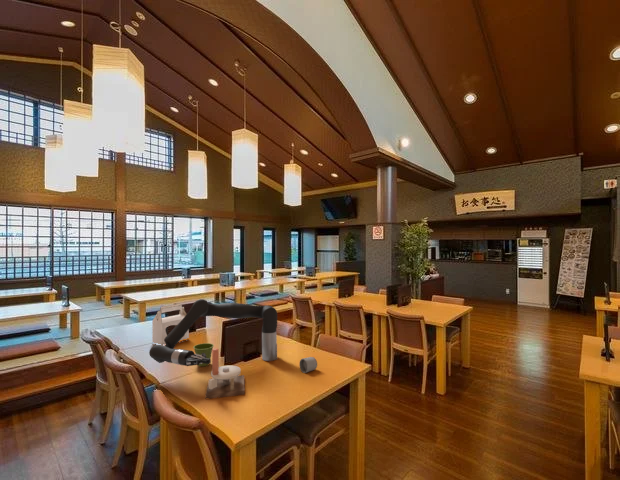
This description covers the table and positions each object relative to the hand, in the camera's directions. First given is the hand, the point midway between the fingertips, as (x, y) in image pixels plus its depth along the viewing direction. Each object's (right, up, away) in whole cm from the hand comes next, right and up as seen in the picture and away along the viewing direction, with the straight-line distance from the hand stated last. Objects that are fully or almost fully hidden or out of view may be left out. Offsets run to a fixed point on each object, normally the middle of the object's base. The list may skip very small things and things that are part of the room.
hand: (209, 361), depth 153 cm
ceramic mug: (+49, -15, +23) cm, 56 cm away
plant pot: (-15, -16, +33) cm, 40 cm away
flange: (+7, -11, +2) cm, 13 cm away
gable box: (-56, -17, +80) cm, 99 cm away
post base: (+8, -14, +2) cm, 16 cm away
